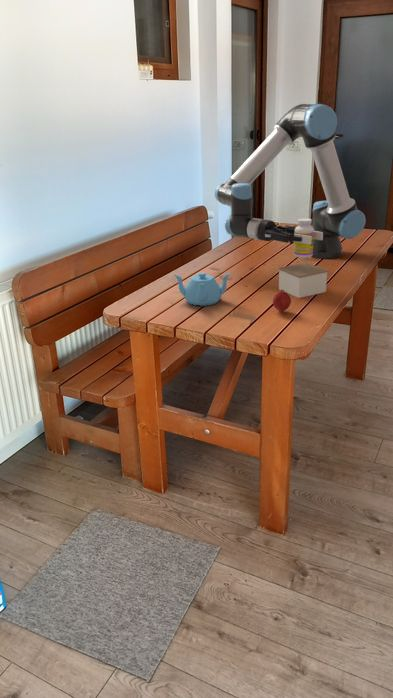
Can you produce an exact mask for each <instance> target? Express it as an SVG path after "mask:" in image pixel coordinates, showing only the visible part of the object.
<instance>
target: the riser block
mask: <svg viewBox="0 0 393 698" xmlns="http://www.w3.org/2000/svg"><path fill="white" fill-rule="evenodd" d="M328 272H329V270H328V269H325V268H322V267H319V266H317V265H315V264H311V263H309V262H302V263H297V264H291V265H286V266H280V267H278V290H279V291H281V289H283V290H284V292H286V293H287V294H288V295H291V296H293V297H295V298H298V299H300V298H306V297H309V296H313V295H318V294H322V293H326V292H327V282H328V281H327V280H328V278H327V277H328Z"/></svg>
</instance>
